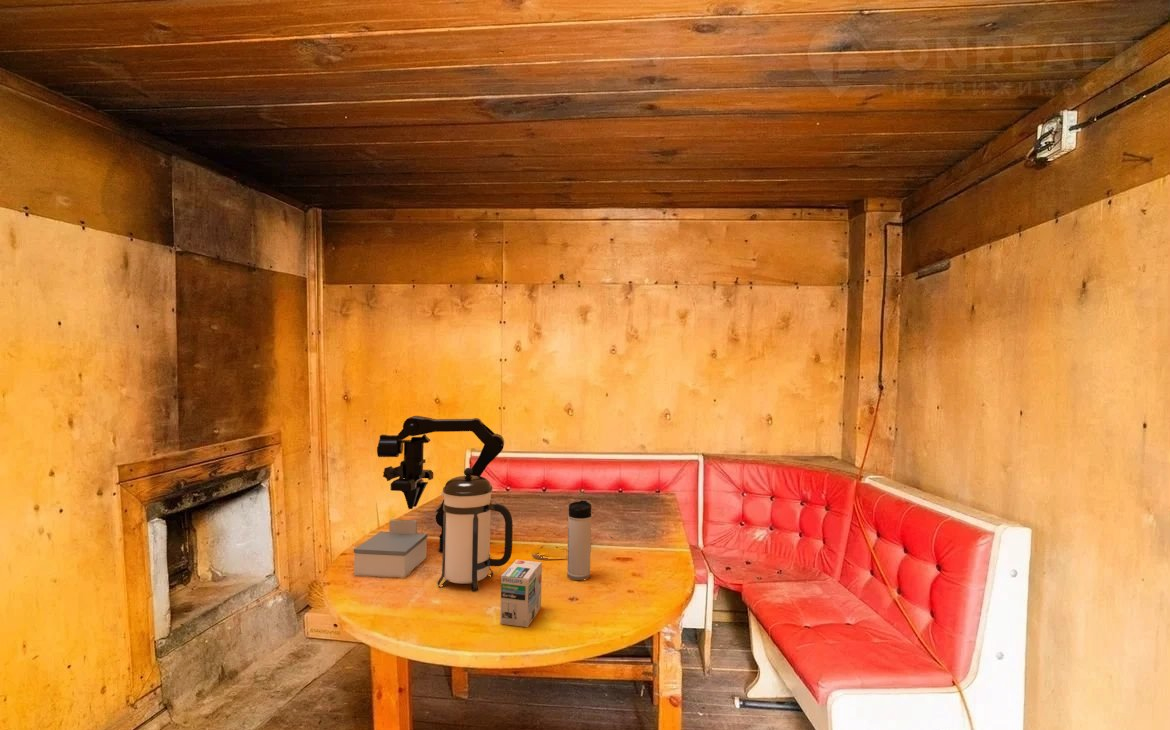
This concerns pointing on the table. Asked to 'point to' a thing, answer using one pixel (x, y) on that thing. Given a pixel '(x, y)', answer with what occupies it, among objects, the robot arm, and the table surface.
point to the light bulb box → (521, 593)
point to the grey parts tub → (389, 563)
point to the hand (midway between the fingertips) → (412, 507)
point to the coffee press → (470, 530)
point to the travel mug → (579, 540)
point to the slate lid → (394, 539)
